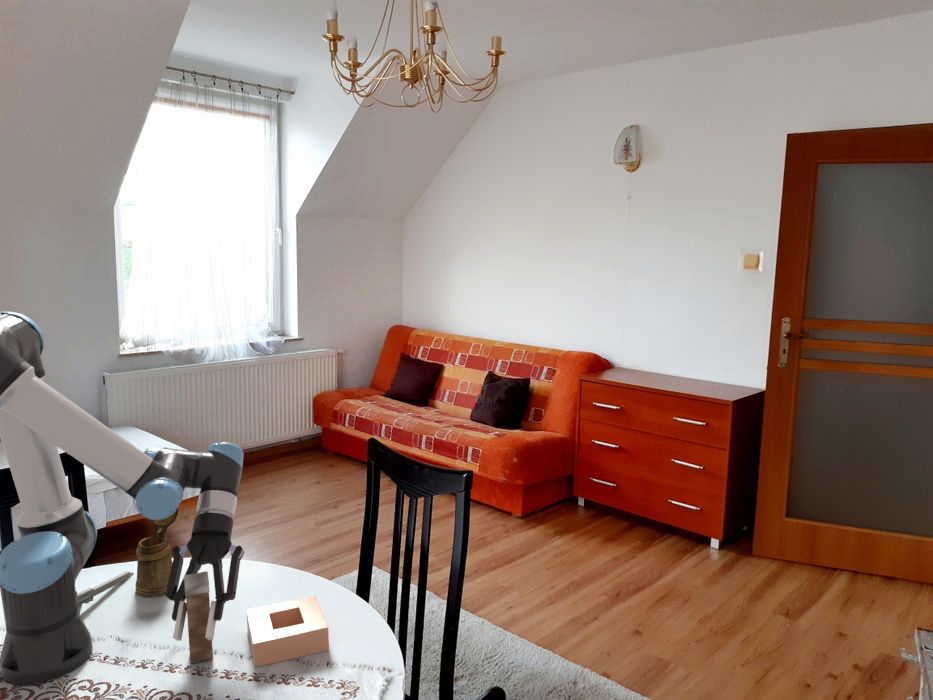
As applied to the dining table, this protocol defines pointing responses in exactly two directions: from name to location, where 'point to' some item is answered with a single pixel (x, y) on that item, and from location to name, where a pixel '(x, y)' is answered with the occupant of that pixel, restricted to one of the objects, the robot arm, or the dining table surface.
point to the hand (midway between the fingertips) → (193, 638)
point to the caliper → (99, 589)
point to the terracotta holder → (287, 630)
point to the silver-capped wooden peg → (198, 615)
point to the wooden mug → (154, 561)
